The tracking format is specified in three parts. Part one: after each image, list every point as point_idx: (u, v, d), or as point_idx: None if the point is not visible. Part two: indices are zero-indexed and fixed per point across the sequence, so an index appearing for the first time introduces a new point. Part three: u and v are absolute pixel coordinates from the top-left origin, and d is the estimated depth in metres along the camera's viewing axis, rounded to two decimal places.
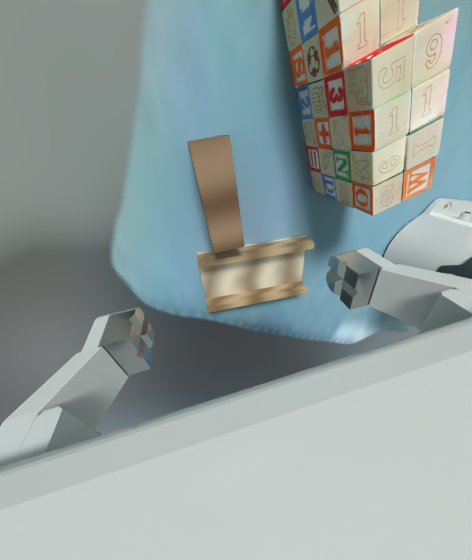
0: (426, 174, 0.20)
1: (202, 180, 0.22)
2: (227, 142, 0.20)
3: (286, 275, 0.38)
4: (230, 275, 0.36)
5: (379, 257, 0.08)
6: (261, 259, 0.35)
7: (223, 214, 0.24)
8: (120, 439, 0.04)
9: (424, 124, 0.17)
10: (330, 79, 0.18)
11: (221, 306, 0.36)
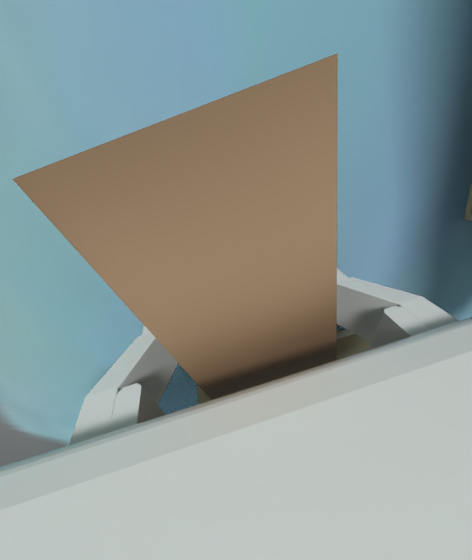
0: None
1: (187, 335, 0.04)
2: (316, 119, 0.03)
3: None
4: None
5: None
6: None
7: None
8: (120, 439, 0.04)
9: None
10: None
11: None
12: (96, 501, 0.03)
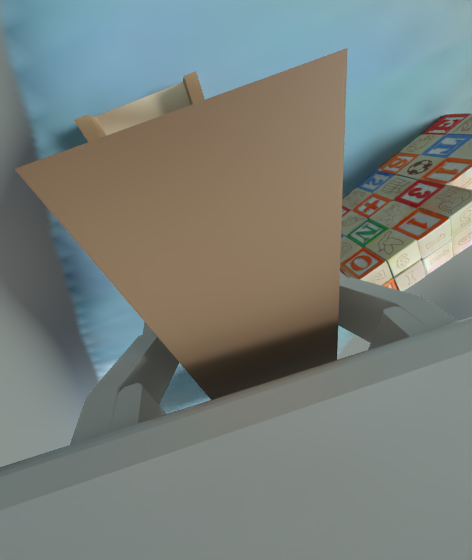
0: None
1: (188, 332, 0.04)
2: (324, 115, 0.03)
3: None
4: None
5: None
6: None
7: None
8: (120, 439, 0.04)
9: (424, 266, 0.22)
10: (425, 182, 0.22)
11: None
12: (96, 501, 0.03)
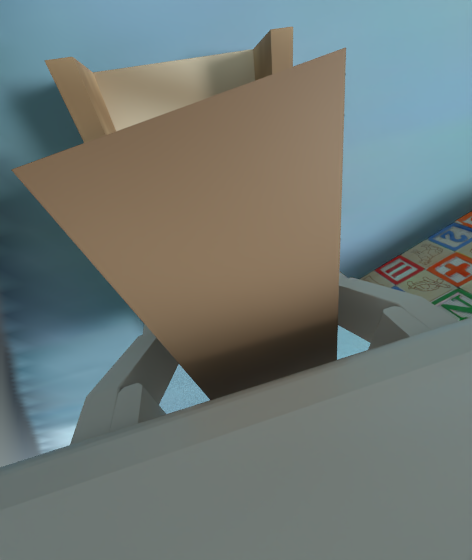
0: None
1: (187, 334, 0.04)
2: (323, 115, 0.03)
3: None
4: None
5: None
6: None
7: None
8: (120, 439, 0.04)
9: None
10: None
11: (102, 133, 0.09)
12: (96, 501, 0.03)
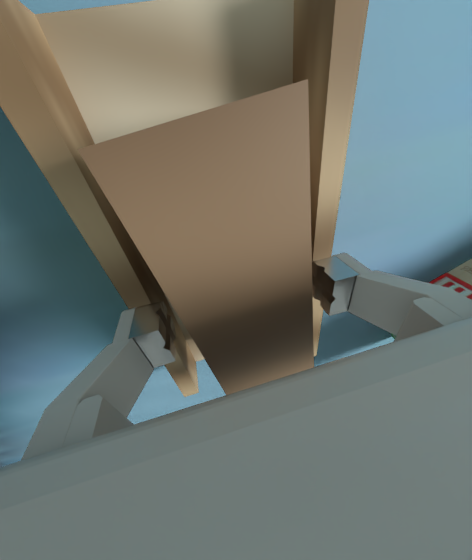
0: None
1: (189, 292, 0.05)
2: (294, 123, 0.04)
3: None
4: None
5: (357, 263, 0.08)
6: None
7: (266, 355, 0.08)
8: (120, 439, 0.04)
9: None
10: None
11: (46, 114, 0.06)
12: (96, 501, 0.03)
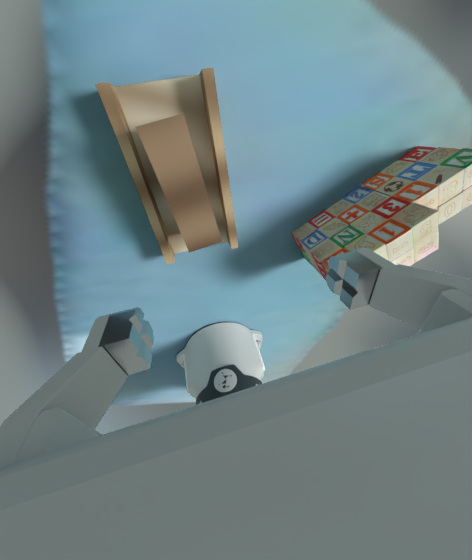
0: None
1: (161, 170, 0.19)
2: (182, 122, 0.17)
3: None
4: None
5: (379, 257, 0.08)
6: None
7: (192, 208, 0.22)
8: (120, 439, 0.04)
9: None
10: (396, 199, 0.26)
11: (119, 118, 0.19)
12: (96, 501, 0.03)
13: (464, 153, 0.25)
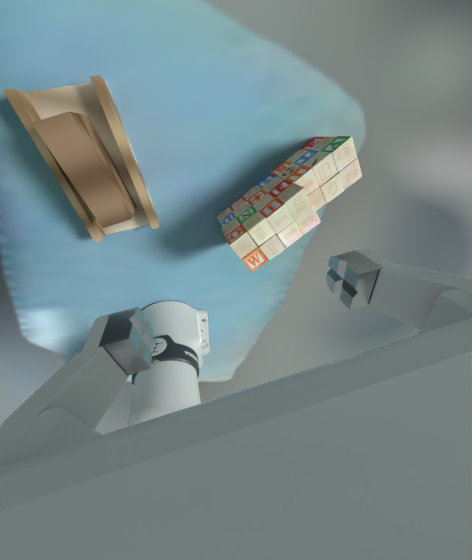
0: (258, 263, 0.32)
1: (60, 157, 0.24)
2: (70, 118, 0.22)
3: None
4: None
5: (379, 257, 0.08)
6: (121, 177, 0.31)
7: (96, 189, 0.26)
8: (120, 439, 0.04)
9: (281, 240, 0.30)
10: (285, 181, 0.31)
11: (28, 117, 0.24)
12: (96, 501, 0.03)
13: (337, 140, 0.29)
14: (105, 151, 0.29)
